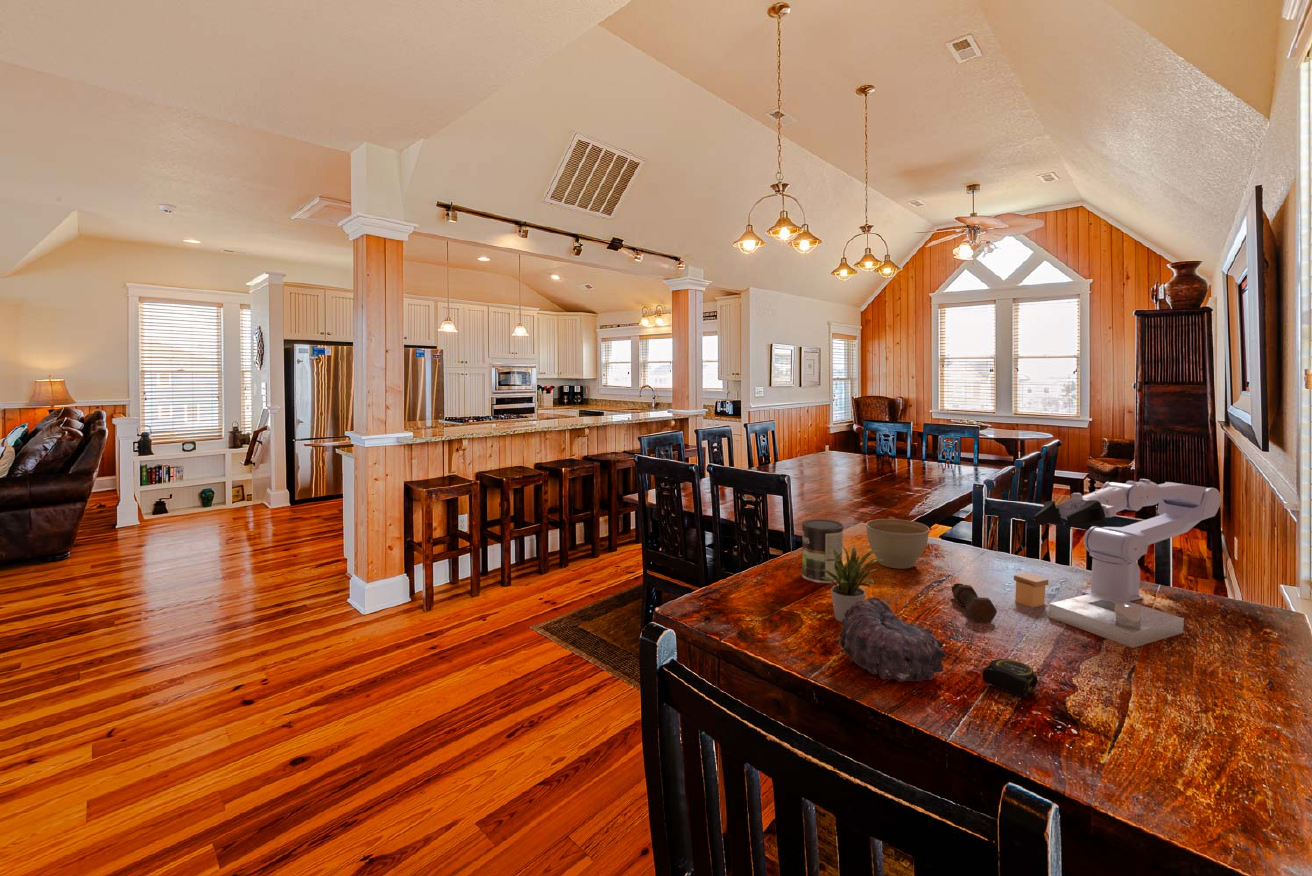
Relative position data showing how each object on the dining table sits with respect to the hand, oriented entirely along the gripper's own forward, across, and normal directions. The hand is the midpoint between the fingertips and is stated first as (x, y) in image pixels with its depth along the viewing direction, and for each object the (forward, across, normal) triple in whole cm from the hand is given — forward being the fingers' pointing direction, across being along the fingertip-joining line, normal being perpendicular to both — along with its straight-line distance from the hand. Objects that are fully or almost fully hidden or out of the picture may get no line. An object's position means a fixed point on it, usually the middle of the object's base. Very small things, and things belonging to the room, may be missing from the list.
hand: (1052, 520), depth 127 cm
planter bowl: (+10, -41, +11) cm, 44 cm away
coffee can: (+35, -39, +7) cm, 53 cm away
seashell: (+52, +4, +13) cm, 54 cm away
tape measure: (+40, +18, +18) cm, 47 cm away
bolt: (+18, -10, +16) cm, 26 cm away
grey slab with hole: (-1, +6, +22) cm, 23 cm away
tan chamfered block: (+3, -8, +18) cm, 20 cm away
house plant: (+45, -14, +10) cm, 48 cm away
